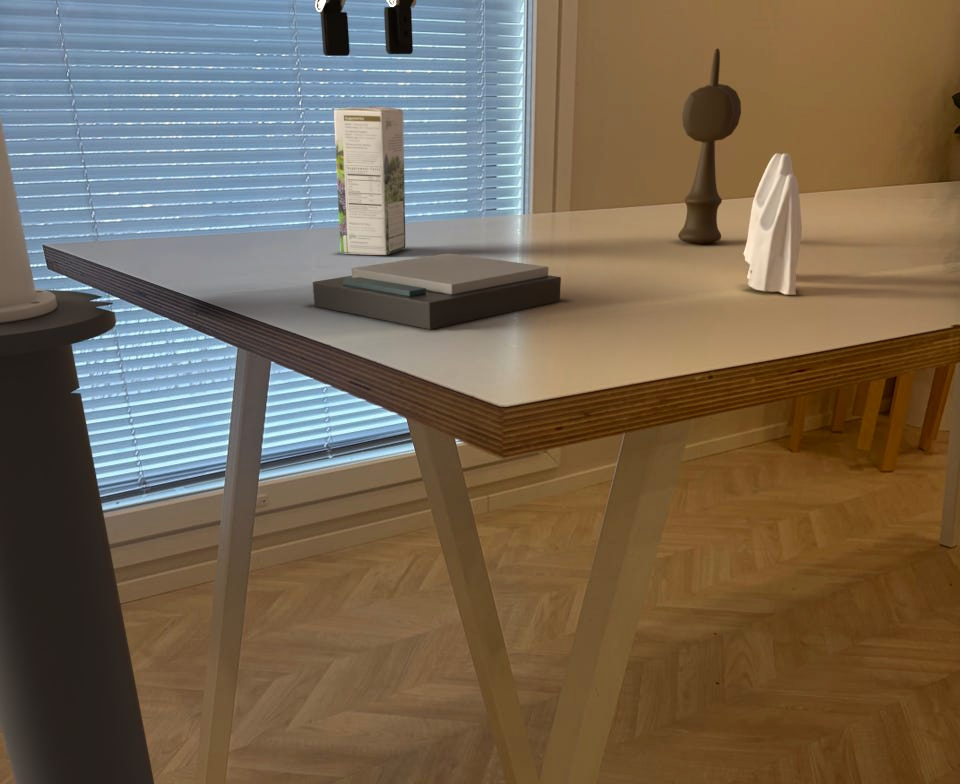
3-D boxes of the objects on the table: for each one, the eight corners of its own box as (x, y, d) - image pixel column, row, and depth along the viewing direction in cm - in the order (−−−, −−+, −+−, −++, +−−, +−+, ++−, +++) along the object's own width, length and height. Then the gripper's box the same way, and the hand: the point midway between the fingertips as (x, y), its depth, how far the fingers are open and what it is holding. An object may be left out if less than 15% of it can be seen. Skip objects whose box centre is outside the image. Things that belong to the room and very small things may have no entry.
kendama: (728, 238, 125) (748, 49, 116) (721, 249, 117) (742, 46, 107) (678, 236, 127) (694, 49, 117) (668, 247, 118) (684, 47, 109)
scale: (430, 329, 79) (429, 291, 78) (314, 306, 87) (311, 271, 86) (560, 300, 89) (561, 267, 88) (445, 282, 98) (445, 251, 96)
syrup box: (360, 247, 119) (352, 106, 112) (408, 249, 117) (403, 106, 110) (339, 254, 114) (330, 107, 107) (389, 256, 112) (383, 107, 105)
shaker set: (740, 272, 102) (754, 150, 97) (783, 273, 102) (800, 150, 97) (749, 294, 92) (765, 158, 87) (797, 295, 91) (816, 158, 86)
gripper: (268, -144, 101) (286, 56, 109) (388, -170, 91) (398, 53, 99) (327, -135, 106) (340, 56, 114) (448, -159, 95) (452, 53, 104)
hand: (367, 54), depth 106 cm, fingers open, 9 cm apart
